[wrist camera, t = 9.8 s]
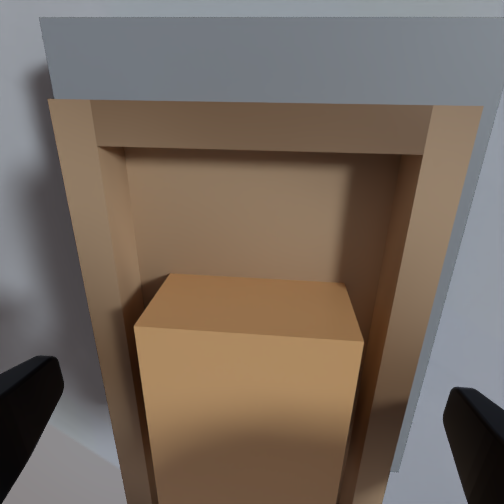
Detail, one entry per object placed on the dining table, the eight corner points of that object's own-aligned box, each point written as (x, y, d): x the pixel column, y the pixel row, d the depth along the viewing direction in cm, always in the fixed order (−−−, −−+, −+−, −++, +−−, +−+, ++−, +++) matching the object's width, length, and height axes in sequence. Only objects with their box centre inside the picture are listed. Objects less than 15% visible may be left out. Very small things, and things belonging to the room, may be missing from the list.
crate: (322, 446, 9) (330, 530, 7) (183, 434, 10) (159, 512, 8) (344, 282, 7) (363, 342, 6) (169, 273, 8) (133, 326, 6)
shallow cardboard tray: (340, 432, 14) (364, 571, 10) (178, 418, 14) (135, 544, 10) (393, 106, 9) (483, 106, 5) (149, 102, 10) (47, 99, 5)
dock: (379, 413, 17) (398, 472, 14) (145, 394, 18) (119, 445, 15) (462, 39, 11) (522, 17, 8) (96, 38, 12) (38, 17, 9)
